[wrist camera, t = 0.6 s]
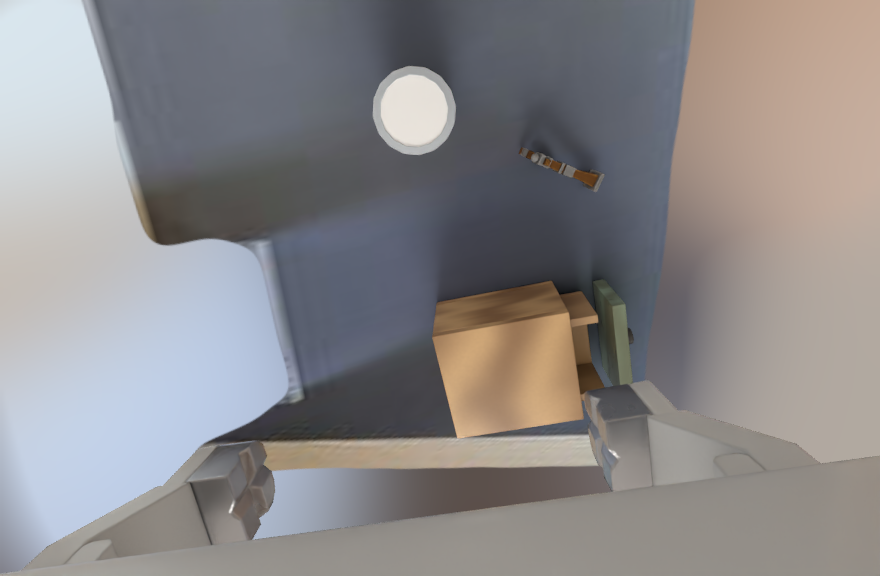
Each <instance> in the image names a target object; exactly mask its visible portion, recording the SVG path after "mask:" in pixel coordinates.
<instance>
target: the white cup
mask: <svg viewBox="0 0 880 576" xmlns="http://www.w3.org/2000/svg"><path fill="white" fill-rule="evenodd" d="M455 112H456V105H455V102H454V98H453V95H452V91H451V89H450V88H449V86H448V85H447V84H446V83H445V81H444V80H443V79H442V77H441V76H440V75H438V74H436V73H434V72H433V71H431V70H429V69H427V68H426V67H415V66H407V67H404V68H401V69H398V70H396V71H393V72H392V73H391V74H390V75H389V76H387V77H386V78H385V79H384V80H383V81H382V82H381V83H380V85H379V88H378V90H377V92H376V95H375V97H374V99H373V119H374V122H375V124H376V127H377V130H378V133H379V134H380V135H381V137H382V138H383V139H384V140H385V141H386V143H387V144H388V145H389V146H390V147H392V148H394V149H396V150H398V151H400V152H401V153H403V154H413V155H421V154H424V153H427V152H430V151H433V150H435V149H436V148H437V147H439V146H440V145H441V144H442V143H443V142H444V141H446V140H447V138H448V136H449V134H450V132H451V130H452V128H453V126H454V123H455Z"/></svg>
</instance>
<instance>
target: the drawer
mask: <svg viewBox="0 0 880 576" xmlns="http://www.w3.org/2000/svg"><path fill="white" fill-rule="evenodd" d="M593 289H594V297H595V306H596V312H595V311H594V309H593V308H592V306H591V305H590V303H589V302H588V300H587V299H586V297H585V296H584V294H583V293H582V291H578V292H573V293H567V294H562V295H560V297H561V299H562V301H563V303H564V304H565V306H566V308H567V310H568V312H569V316H570V324H571V331H572V338H573V345H574V352H575V360H576V367H577V374H578V381H579V388H580V396H581V401H585V392H586V391H588V390H594V389H600V388H605V387H604V385H603V383H602V381H601V379H600V377H599V375H598V373H597V371H596V370H595V368H594V366H593V364H592V360H591V352H590V344H589V336H588V329H587V324H592V323H598V331H599V340H600V348H601V357H602V365H603V368H604V370H605V372H606V374H607V376H608V377H609V379H610V381H611V383H612V385H613V386H617V385H623V384H632V383H633V381H632V370H631V359H630V349H629V344H632V343H633V341H634V339H633V334H632V331H631V329H630V328H627V317H626V306H625V303H624V302H623V301H622V300H621V298H620V297H619V296H618V295H617V294H616V293H615V291H614V290H613V289H612V288H611V287H610V286H609V284H608V283H607V282H606V281H605V280H604V279H603V280H597V281H593Z"/></svg>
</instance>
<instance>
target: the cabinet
mask: <svg viewBox="0 0 880 576" xmlns="http://www.w3.org/2000/svg"><path fill="white" fill-rule="evenodd" d="M432 338H433V342H434V346H435V350H436V354H437V358H438V362H439V366H440V370H441V374H442V378H443V382H444V386H445V390H446V394H447V398H448V402H449V406H450V410H451V414H452V418H453V422H454V426H455V430H456V434H457V438H464V437H471V436H477V435H484V434H490V433H496V432H503V431H509V430H516V429H522V428H528V427H535V426H541V425H548V424H554V423H561V422H567V421H573V420H580V419H584V417H583V410H582V403H581V396H580V388H579V381H578V374H577V367H576V360H575V352H574V345H573V338H572V331H571V324H570V316H569V312H568V310H567V308H566V306H565V304H564V303H563V301H562V299H561V297H560V295H559V293H558V292H557V290H556V288H555V286H554V284H553V282H552V281H547V282H542V283H536V284H531V285H526V286H521V287H515V288H510V289H505V290H500V291H494V292H489V293H484V294H479V295H473V296H468V297H463V298H457V299H452V300H447V301H442V302H437V305H436V313H435V321H434V329H433V336H432Z"/></svg>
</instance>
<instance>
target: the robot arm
mask: <svg viewBox="0 0 880 576" xmlns="http://www.w3.org/2000/svg"><path fill="white" fill-rule="evenodd" d="M585 408H586V410H587V412H588V414H589V416H590V418H591V421H590V423H589V424H588V431H589V438H590V442H591V447H592V451H593V454H594V456H595V459H596V461H597V463H598V465H599V466H601V467H603V470H604V478H605V480H606V482H607V484H608V486H609V488H610V490H611V492H606V493H599V494H591V495H584V496H577V497H569V498H562V499H554V500H548V501H539V502H532V503H525V504H517V505H509V506H502V507H495V508H487V509H480V510H473V511H465V512H457V513H450V514H442V515H435V516H427V517H420V518H412V519H405V520H398V521H390V522H382V523H375V524H367V525H360V526H352V527H345V528H337V529H330V530H323V531H315V532H307V533H300V534H292V535H285V536H278V537H270V538H262V539H255V540H252V539H253V537H254V535H255V534H256V532H257V530H258V528H259V526H260V525H261V523H260V520H259V518H260V517H261V516H262V515H264V514H265V513H266V512H268V511H269V509H270V507H271V505H272V503H273V499H274V493H275V485H274V478H273V475H272V471H270V470H269V469H268V468H267V467H266V466H264V465H263V464H264V462H265V459H266V457H267V455H266V452H265V449H264V446H263V444H262V443H261V442H260V441H258V440H257V441H249V442H242V443H234V444H227V445H216V446H211V447H206V448H201V449H198V450H197V451H196V452H195V453H194V454H193V455H192V456H191V457H190V458H189V459H188V460H187V461H186V462H185V463H184V464H183V465H182V466H181V468H180V469H179V470H178V471H177V472H176V473H175V474H174V475H173V476H172V477H171V478H170V479H169V480H168V481H167V482H166V483H165V484H164V485H163V486H159V487H156V488H154V489H152V490H150V491H148V492H146V493H145V494H143V495H141V496H139V497H137V498H135V499H134V500H132V501H130V502H128V503H126V504H125V505H123V506H121V507H119V508H117V509H115V510H113V511H111V512H110V513H108V514H106V515H104V516H102V517H101V518H99V519H97V520H95V521H93V522H91V523H90V524H88V525H86V526H84V527H82V528H80V529H78V530H77V531H75V532H73V533H71V534H69V535H68V536H66V537H64V538H62V539H60V540H58V541H56V542H55V543H53V544H51V545H49V546H47V547H46V548H45V549H44V550H43V551H42V552H41V553H40V554H39V555H38V556H37V557H35V558H34V559H33V560H32V561H31V562H30V563H29V564H28V565H27V566H25V567H24V568H23V569H22V570H21V571H17V572H9V573H1V574H0V576H880V456H875V457H867V458H859V459H852V460H844V461H837V462H830V463H822V464H821V463H820V462H818V461H817V460H816V459H814V458H813V457H812V456H811V455H809V454H808V453H807V452H806V451H804V450H803V449H802V448H801V447H799V446H798V445H797V444H795V443H792V442H788V441H785V440H782V439H779V438H775V437H772V436H768V435H765V434H762V433H759V432H756V431H752V430H749V429H746V428H742V427H739V426H736V425H732V424H729V423H726V422H722V421H719V420H716V419H713V418H709V417H706V416H703V415H699V414H696V413H693V412H690V411H686V410H683V411H678V410H677V409H676V408H675V407H674V406H673V405H672V404H671V403H670V401H668V399H667V398H666V397H665V396H663V394H662V393H661V392H660V391H659V390H658V389H657V388H656V387H655V386H654V385H653V384H652V383H651V382H650V381H642V382H637V383H632V384H623V385H617V386H611V387H606V388H600V389H594V390H588V391H586V392H585Z"/></svg>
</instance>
